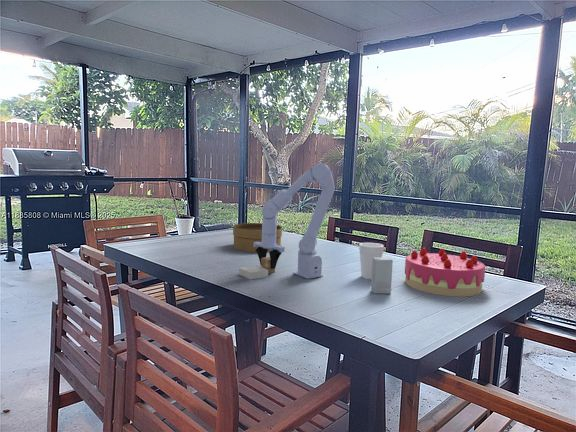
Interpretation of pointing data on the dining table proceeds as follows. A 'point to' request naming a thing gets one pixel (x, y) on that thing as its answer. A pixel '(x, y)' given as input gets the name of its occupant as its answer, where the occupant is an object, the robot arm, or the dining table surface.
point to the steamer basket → (251, 236)
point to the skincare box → (381, 275)
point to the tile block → (253, 272)
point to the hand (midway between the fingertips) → (268, 267)
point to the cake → (444, 273)
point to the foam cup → (369, 257)
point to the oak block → (267, 264)
